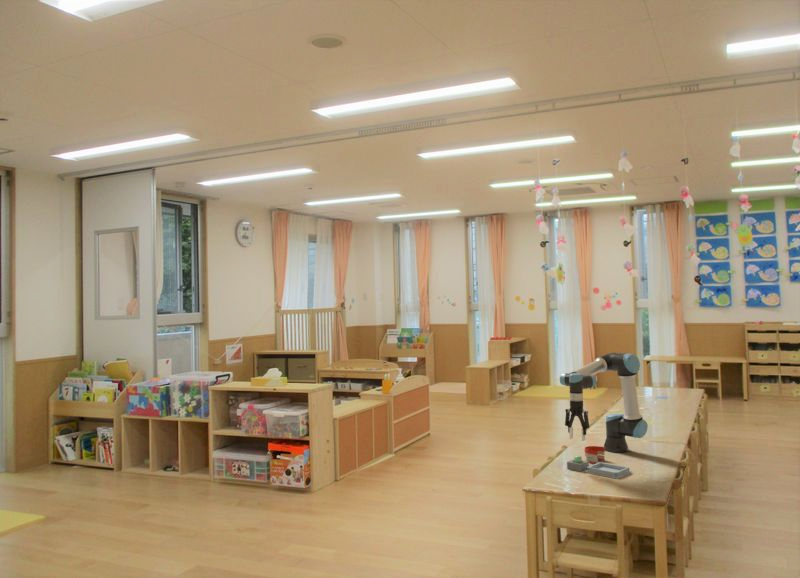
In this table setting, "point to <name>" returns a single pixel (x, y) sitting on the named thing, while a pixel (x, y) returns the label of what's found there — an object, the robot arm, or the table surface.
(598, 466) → the grey tray
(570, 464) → the grey square holder
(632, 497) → the table surface
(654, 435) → the table surface
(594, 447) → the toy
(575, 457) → the button
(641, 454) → the table surface
